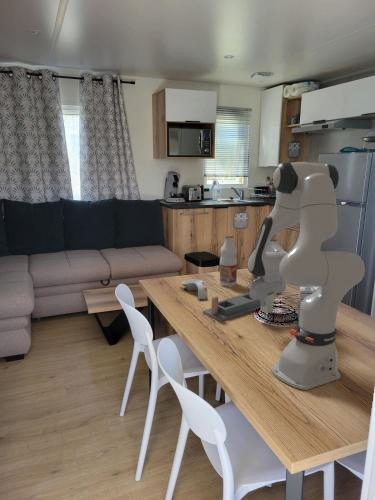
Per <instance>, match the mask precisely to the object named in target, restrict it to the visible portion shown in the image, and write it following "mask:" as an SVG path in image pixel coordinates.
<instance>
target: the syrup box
mask: <svg viewBox="0 0 375 500" xmlns="http://www.w3.org/2000/svg"><path fill="white" fill-rule="evenodd" d="M298 287H299V289H298V303H297V304H298V306H297V307H298V308H297V320H298V322H299V317H300V304H301V302H302V301H303V299H304V298H305V297H307V296H309V295H311V294H312V293H314V292H315V291H314V287H300V286H298Z"/></svg>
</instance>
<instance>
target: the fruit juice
mask: <svg viewBox="0 0 375 500" xmlns="http://www.w3.org/2000/svg"><path fill="white" fill-rule="evenodd" d="M223 237H224V242H223V245H222V246H221V247H220V250H219V251H220V258H219V285H220V286H222V287H226V288H227V287H229V288H230V287H234V286H236V285H237V281H238V280H237V279H238V277H237V275H238V274H237V272H238V268H237V267H238V259H237V253H238V249H237V247H236V246H235V244H234V235H233V234H224V236H223Z"/></svg>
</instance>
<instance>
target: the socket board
mask: <svg viewBox="0 0 375 500" xmlns="http://www.w3.org/2000/svg"><path fill="white" fill-rule="evenodd" d="M249 293H250V291H249V292H247V293H244V294H240V295H236V296H233V297H230V298H226V299H224V300H219V296H218V295H211V297H210V298H211V301H210V303H211V305H210V307H211V308H208V309H205V310H202V314H204V315H206V316H208V317H210V318H212V319H214V320H216V321H217V322H223V321H227V320H230V319H233V318H235V317H238V316H242V315H244V314H247V313H251V312H253V311H256V309H257V310H259V309H258V308H260V307H261V305H260V300H259V299H258V300H253V299H251V298H250V297H249Z"/></svg>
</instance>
